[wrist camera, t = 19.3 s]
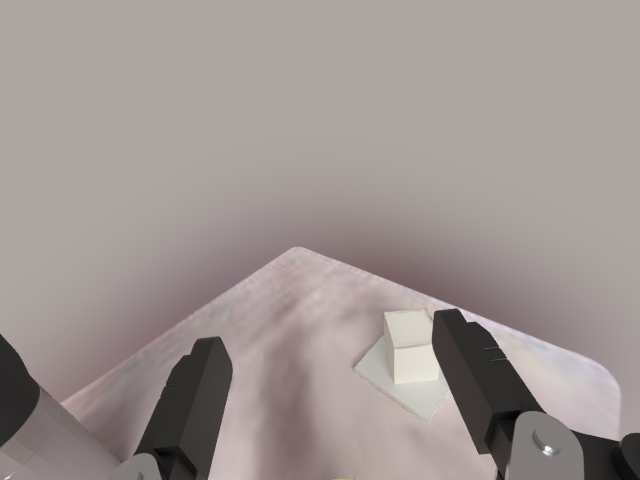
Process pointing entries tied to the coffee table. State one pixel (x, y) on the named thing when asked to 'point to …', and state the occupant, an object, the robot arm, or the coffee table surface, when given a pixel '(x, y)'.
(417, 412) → the grey mat
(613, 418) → the coffee table surface
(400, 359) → the white rectangular block
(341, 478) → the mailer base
